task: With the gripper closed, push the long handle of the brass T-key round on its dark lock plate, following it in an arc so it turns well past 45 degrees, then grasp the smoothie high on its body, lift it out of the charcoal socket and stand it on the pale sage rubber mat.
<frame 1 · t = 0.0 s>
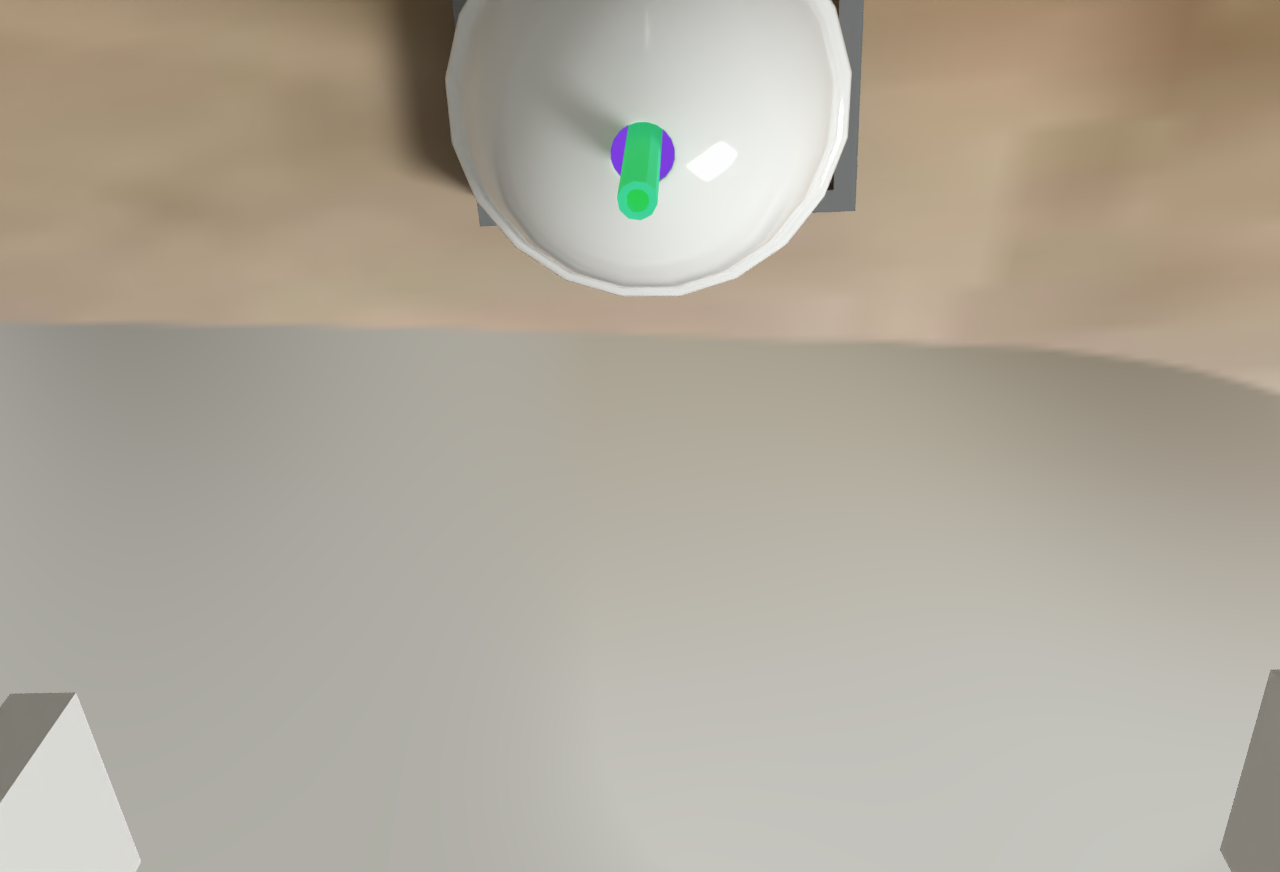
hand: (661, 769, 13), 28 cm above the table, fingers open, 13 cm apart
smoothie: (659, 7, 35), resting in socket
socket: (658, 8, 35), on the table
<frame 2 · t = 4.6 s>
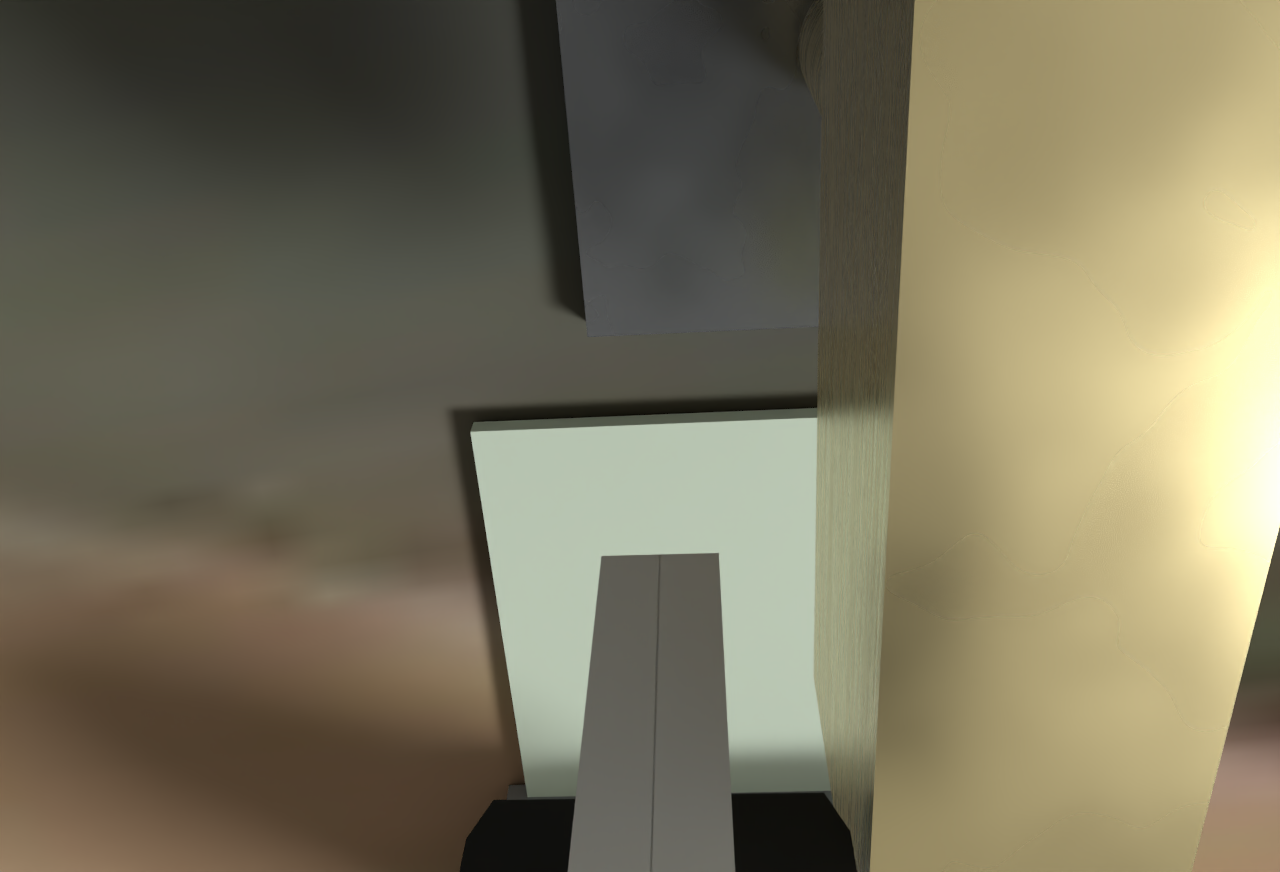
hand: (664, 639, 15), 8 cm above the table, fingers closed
mat: (731, 614, 25), on the table
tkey: (949, 134, 13), point 7 cm above the table, hinge at 0.0°, touching gripper
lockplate: (865, 31, 19), on the table
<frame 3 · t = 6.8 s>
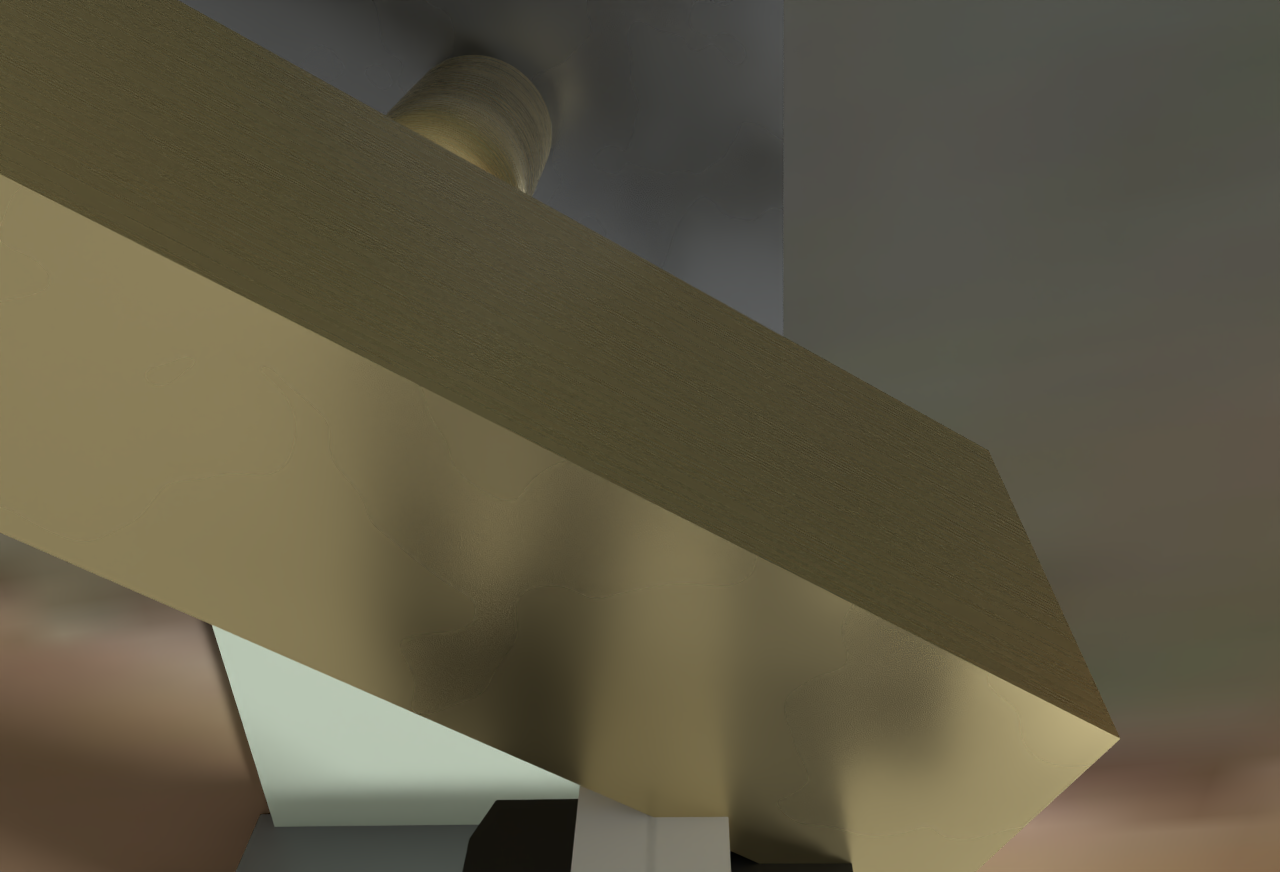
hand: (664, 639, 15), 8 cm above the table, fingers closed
mat: (447, 655, 25), on the table
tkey: (403, 245, 14), point 7 cm above the table, hinge at 57.0°, touching gripper
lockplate: (490, 113, 19), on the table
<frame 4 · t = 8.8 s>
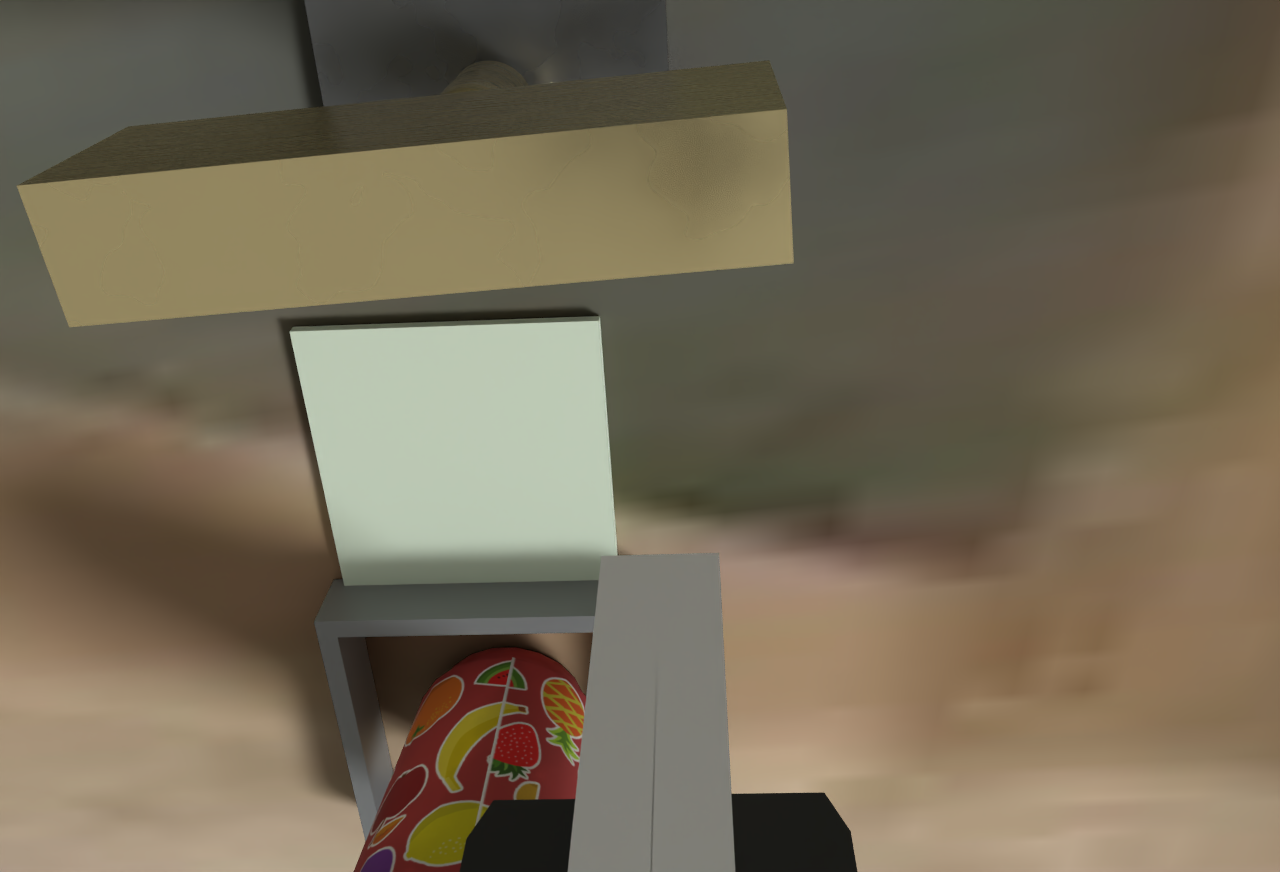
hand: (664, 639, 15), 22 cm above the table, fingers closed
smoothie: (513, 698, 44), resting in socket
mat: (464, 456, 39), on the table
socket: (513, 702, 44), on the table
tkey: (456, 153, 27), point 7 cm above the table, hinge at 93.1°
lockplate: (497, 95, 33), on the table
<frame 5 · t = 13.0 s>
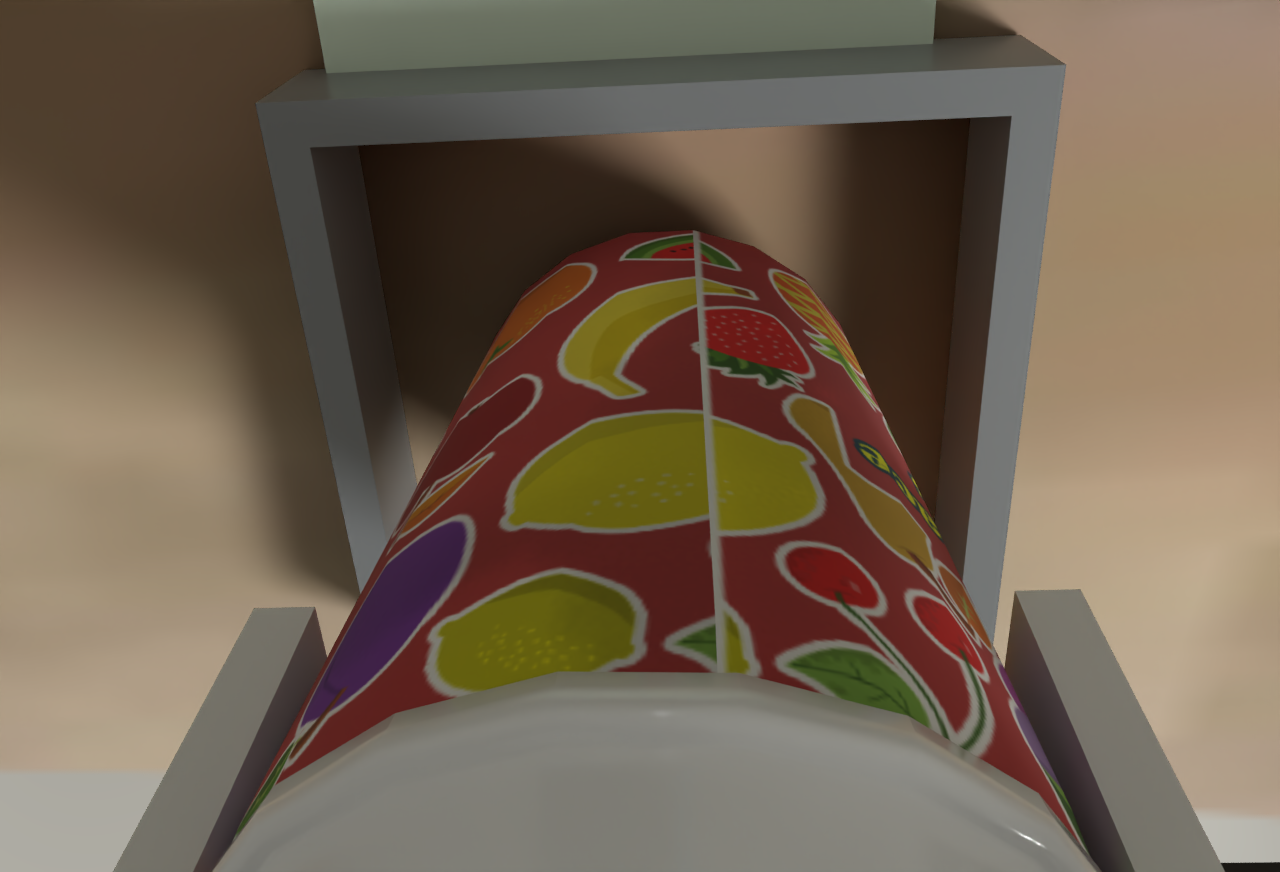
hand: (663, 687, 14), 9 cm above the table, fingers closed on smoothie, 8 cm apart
smoothie: (670, 371, 22), resting in socket, touching gripper
socket: (670, 375, 22), on the table
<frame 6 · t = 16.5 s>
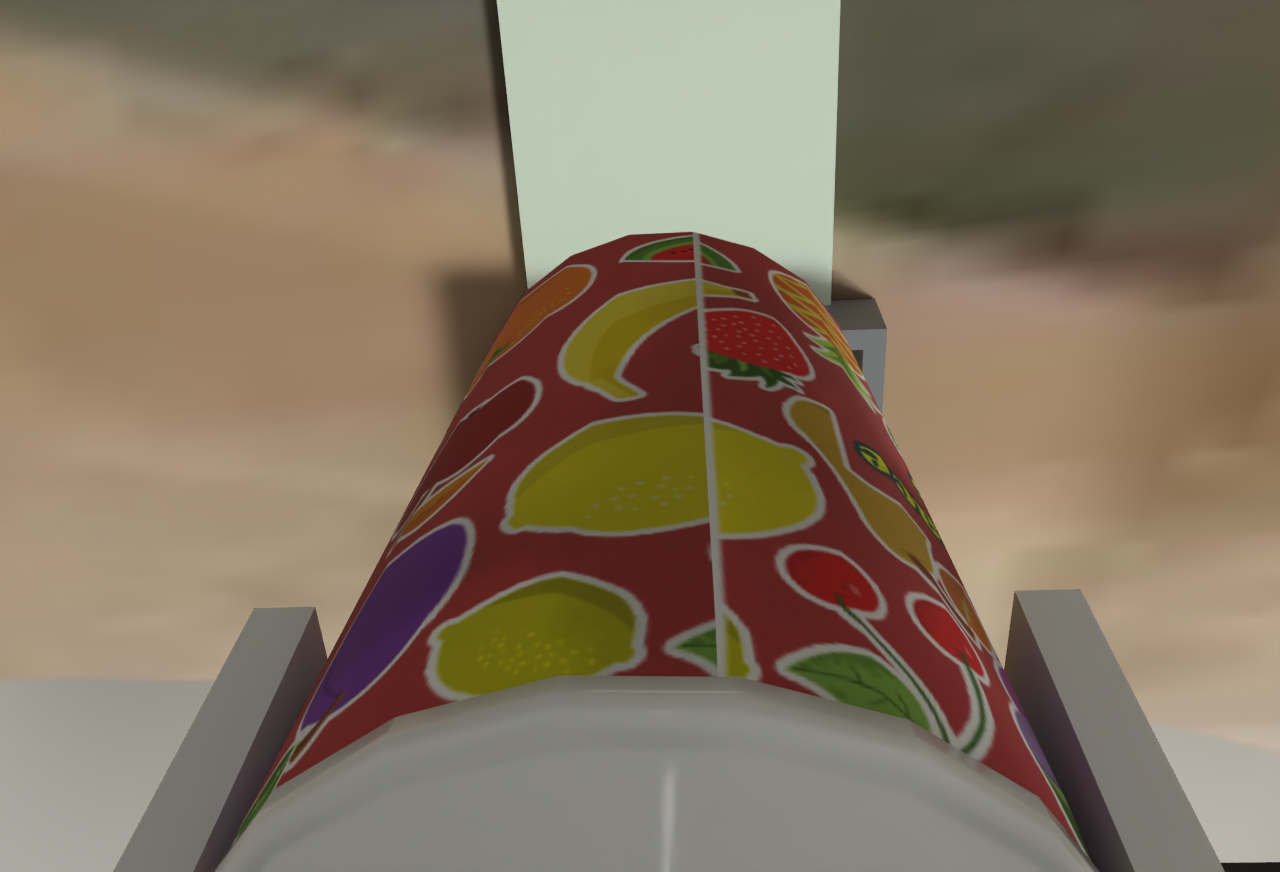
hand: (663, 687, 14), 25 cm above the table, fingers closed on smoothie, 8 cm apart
smoothie: (670, 372, 22), point 15 cm above the table, touching gripper
mat: (674, 158, 35), on the table
socket: (699, 459, 41), on the table
when the fingers open (10 cm above the table, at t = 20.1 s): smoothie stays where it is, resting on mat.
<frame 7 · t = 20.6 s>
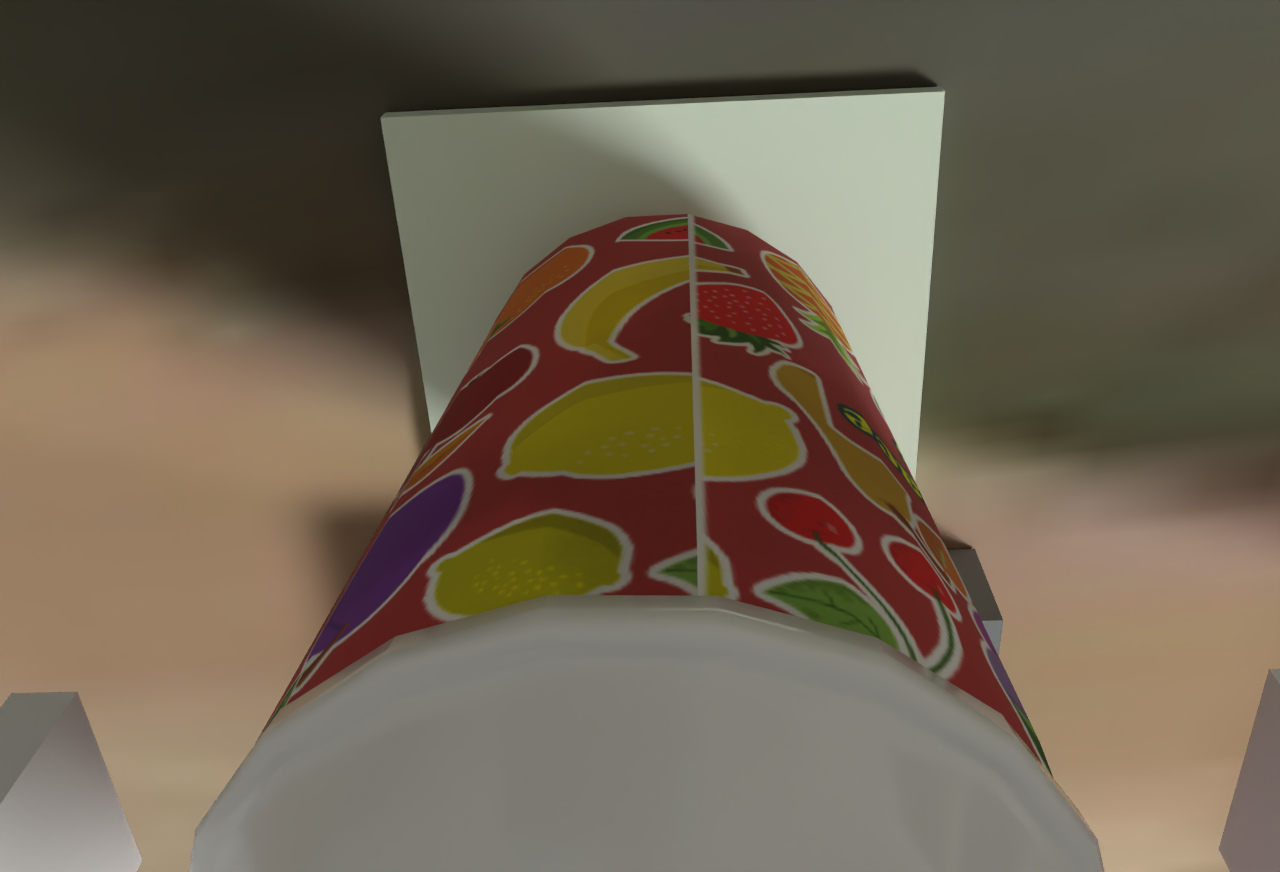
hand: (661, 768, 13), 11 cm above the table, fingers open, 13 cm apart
smoothie: (667, 355, 22), resting on mat
mat: (670, 352, 23), on the table
socket: (707, 754, 28), on the table
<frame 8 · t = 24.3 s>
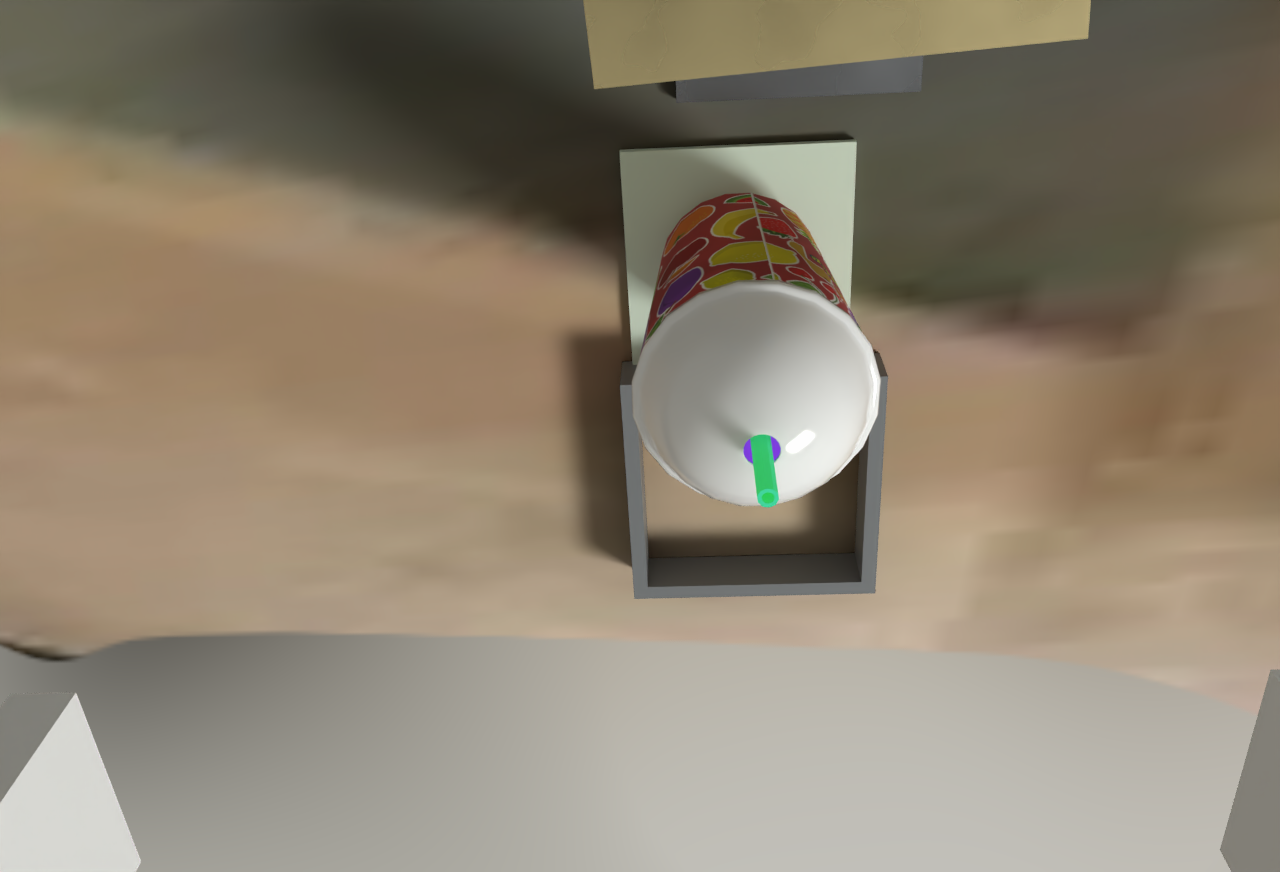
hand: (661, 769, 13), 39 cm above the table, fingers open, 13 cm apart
smoothie: (737, 256, 50), resting on mat
mat: (738, 256, 50), on the table
socket: (750, 467, 56), on the table
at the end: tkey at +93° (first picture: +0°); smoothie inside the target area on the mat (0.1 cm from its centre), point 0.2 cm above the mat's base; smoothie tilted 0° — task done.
